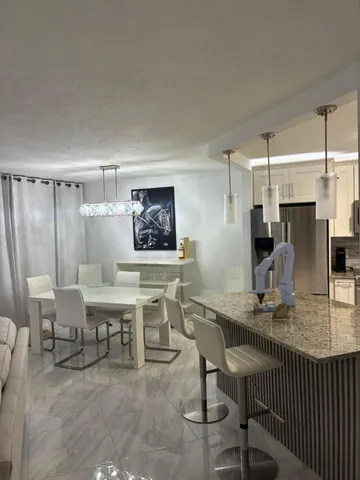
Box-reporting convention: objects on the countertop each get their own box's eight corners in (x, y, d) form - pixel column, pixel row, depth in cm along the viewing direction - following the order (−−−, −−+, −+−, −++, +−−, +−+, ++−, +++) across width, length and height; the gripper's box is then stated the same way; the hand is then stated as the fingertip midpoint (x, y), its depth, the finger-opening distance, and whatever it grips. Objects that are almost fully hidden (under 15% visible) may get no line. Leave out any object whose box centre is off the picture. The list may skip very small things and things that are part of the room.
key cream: (264, 307, 238) (264, 304, 238) (265, 308, 234) (265, 305, 234) (258, 307, 238) (258, 304, 238) (258, 308, 234) (258, 305, 234)
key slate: (273, 308, 237) (273, 305, 237) (274, 309, 233) (274, 306, 233) (267, 308, 237) (267, 305, 237) (268, 310, 233) (268, 306, 233)
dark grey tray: (275, 307, 247) (275, 304, 246) (278, 313, 229) (278, 310, 229) (254, 307, 248) (254, 304, 248) (256, 314, 231) (256, 310, 231)
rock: (271, 317, 212) (288, 315, 210) (268, 304, 217) (285, 302, 215) (272, 324, 221) (289, 322, 219) (270, 311, 226) (286, 309, 224)
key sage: (272, 304, 243) (272, 301, 243) (273, 306, 239) (273, 303, 239) (266, 304, 243) (266, 302, 243) (267, 306, 239) (267, 303, 239)
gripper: (270, 283, 244) (271, 302, 245) (249, 283, 246) (249, 303, 247) (271, 284, 237) (272, 305, 238) (249, 285, 239) (250, 305, 240)
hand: (260, 304), depth 242 cm, fingers closed, pressing on key terracotta
